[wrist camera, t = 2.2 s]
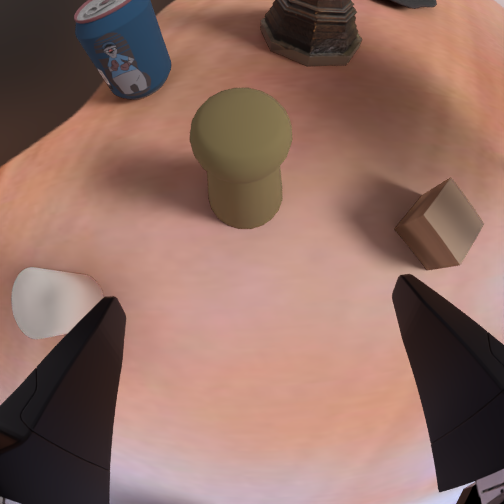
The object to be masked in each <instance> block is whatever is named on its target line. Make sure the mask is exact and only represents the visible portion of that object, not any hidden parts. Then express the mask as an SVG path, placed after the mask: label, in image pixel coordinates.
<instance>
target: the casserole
mask: <svg viewBox="0 0 504 504" xmlns="http://www.w3.org/2000/svg"><path fill="white" fill-rule="evenodd" d="M390 1H393V2H395V3H397V4H400V5H403V6H405V7H408V8H414V9H415V8H419V7H435V6H436V5H437V3H436V0H390Z"/></svg>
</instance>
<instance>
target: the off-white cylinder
mask: <svg viewBox="0 0 504 504" xmlns="http://www.w3.org/2000/svg"><path fill="white" fill-rule="evenodd" d="M102 298H104V296H103V292H102V290H101V288H100V286H99V284H98V283H97V282H96V280H95V279H93V278H92V277H91V276H89V275H86V274H78V273H71V272H63V271H56V270H49V269H42V268H35V267H29V268H26V269H24V270H23V271H21V272H20V273H19V275H18V276H17V278H16V280H15V282H14V285H13V289H12V298H11V301H12V310H13V314H14V318H15V320H16V323H17V325H18V326H19V328H20V329H21V331H22V332H23V333H24V334H25V335H26V336H28V337H30V338H32V339H42V338H48V337H53V336H58V335H63V334H68V333H69V331H70V330H71V329H72V328H73V327H74V326H75V325H76V324H77V323H78V322H79V321H80V320H81V319H82V318H83V317H84V316H85V315H86V314H87V313H88V312H89V311H90V310H91V309H92V308H93V307H94V306H95V305H96V304H97V303H98V302H99V301H100V300H101V299H102Z"/></svg>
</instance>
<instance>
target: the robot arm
mask: <svg viewBox="0 0 504 504" xmlns="http://www.w3.org/2000/svg"><path fill="white" fill-rule="evenodd" d="M392 300H393V304H394V308H395V312H396V316H397V320H398V324H399V328H400V332H401V336H402V340H403V343H404V346H405V349H406V352H407V355H408V358H409V361H410V365H411V368H412V371H413V374H414V378H415V381H416V385H417V388H418V392H419V395H420V399H421V403H422V407H423V411H424V415H425V419H426V423H427V428H428V432H429V437H430V442H431V443H432V444H431V447H432V453H433V458H434V464H435V470H436V476H437V483H438V490H439V492H443V491H446V490H450V489H453V488H456V487H459V486H462V485H465V484H468V483H471V482H473V481H475V482H474V483H473V484H471V485H469V486H468V487H466V488H464V489H463V491H462V493H461V495H460V497H459V499H458V501H457V503H456V504H504V345H503V344H502V343H501V342H500V341H498V340H497V339H496V338H495V337H493V336H492V335H491V334H490V333H489V332H487V331H486V330H485V329H484V328H482V327H481V326H480V325H479V324H477V323H476V322H475V321H474V320H472V319H471V318H470V317H468V316H467V315H466V314H465V313H463V312H462V311H461V310H459V309H458V308H457V307H456V306H454V305H453V304H452V303H450V302H449V301H448V300H446V299H445V298H444V297H442V296H441V295H439V294H438V293H437V292H435V291H434V290H433V289H431V288H430V287H428V286H427V285H426V284H424V283H423V282H421V281H420V280H419V279H417V278H416V277H414V276H413V275H411V274H405V275H400V276H399V277H398V279H397V282H396V285H395V288H394V290H393V293H392ZM125 325H126V315H125V312H124V311H123V309H122V307H121V305H120V303H119V301H118V299H117V298H116V297H114V296H112V297H104V298H102V299H101V300H100V301H99V302H98V303H97V304H96V305H95V306H94V307H93V308H92V309H91V310H90V311H89V312H88V313H87V314H86V315H85V316H84V317H83V318H82V319H81V320H80V321H79V322H78V323H77V324H76V325H75V326H74V327H73V328H72V329H71V330H70V331H69V333H68V334H67V335H66V336H65V337H64V338H63V339H62V340H61V341H60V342H59V343H58V344H57V345H56V346H55V347H54V348H53V349H52V351H51V352H50V353H49V354H48V355H47V356H46V357H45V358H44V359H43V360H42V362H41V363H40V364H39V365H38V366H37V368H35V369H34V370H33V372H32V373H31V374H30V375H29V376H28V377H27V378H26V379H25V381H24V382H23V383H22V384H21V385H20V386H19V387H18V388H17V389H16V390H15V391H14V392H13V393H12V394H11V395H10V396H9V397H8V398H7V399H6V400H5V401H4V402H3V403H2V404H1V405H0V504H109V489H110V461H111V446H112V435H113V425H114V416H115V407H116V400H117V392H118V386H119V379H120V373H121V367H122V360H123V348H124V336H125Z"/></svg>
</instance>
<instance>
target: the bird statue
mask: <svg viewBox="0 0 504 504" xmlns="http://www.w3.org/2000/svg"><path fill="white" fill-rule="evenodd" d="M353 5H354V4H353V2H352V1H351V0H275V1H274V2H273V6H272V7H271V8H270V11H269V12H267V13H266V14H265V18H264V19H262V20H261V31H262V34H263V36H264V38H265V40H266V42H267V44H268V47H269V49H270V51H272V52H274V53H277V54H280V55H282V56H284V57H287V58H289V59H292V60H294V61H296V62H299V63H301V64H303V65H305V66H328V65H347V63H348V62H349V61H350V59H351V58H352V56H353V55H354V54H355V52H356V51H357V50H358V48H359V46H360V44H361V41H362V38H361V37H360V36H359V34H358V30H357V29H356V27H357V26H356V24H355V19H356V17H355V16H354V15H355V14H356V13H357V12H356V9H355V8H354V7H353Z"/></svg>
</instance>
